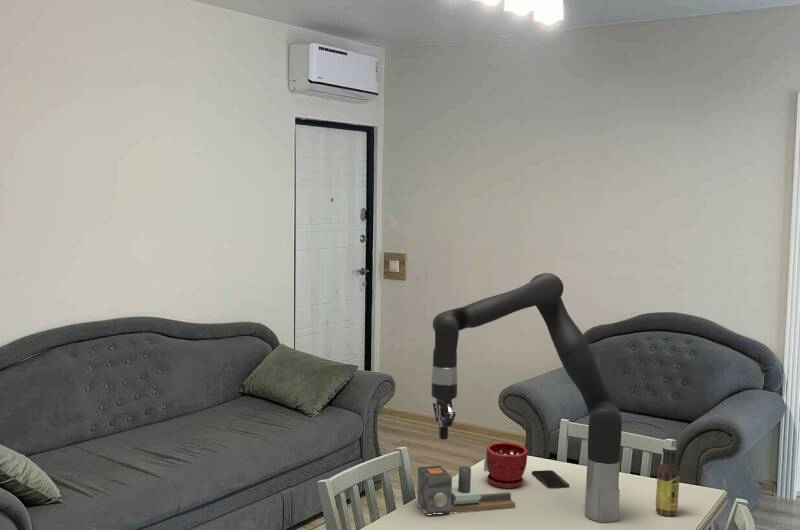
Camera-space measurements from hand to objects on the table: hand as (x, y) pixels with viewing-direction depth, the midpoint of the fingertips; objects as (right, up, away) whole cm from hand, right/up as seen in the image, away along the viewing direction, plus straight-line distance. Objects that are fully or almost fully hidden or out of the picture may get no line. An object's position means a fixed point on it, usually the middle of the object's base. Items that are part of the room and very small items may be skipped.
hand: (443, 438), depth 242 cm
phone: (+37, -21, +29) cm, 51 cm away
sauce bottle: (+67, -23, +3) cm, 71 cm away
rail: (+7, -21, +3) cm, 23 cm away
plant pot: (+22, -20, +25) cm, 38 cm away
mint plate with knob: (+6, -19, +3) cm, 20 cm away
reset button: (-3, -12, 0) cm, 13 cm away
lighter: (+19, -19, +38) cm, 46 cm away
